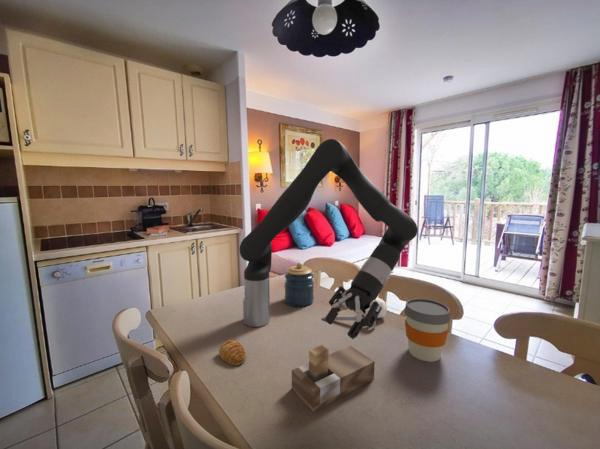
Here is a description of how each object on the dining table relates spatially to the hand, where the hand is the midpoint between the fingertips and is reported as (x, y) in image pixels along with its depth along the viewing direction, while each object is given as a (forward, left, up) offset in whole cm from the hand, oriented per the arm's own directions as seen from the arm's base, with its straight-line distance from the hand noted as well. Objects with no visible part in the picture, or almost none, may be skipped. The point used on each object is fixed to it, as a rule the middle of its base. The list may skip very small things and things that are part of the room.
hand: (338, 329), depth 71 cm
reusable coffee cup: (+28, +14, -15) cm, 35 cm away
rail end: (-5, -4, -13) cm, 15 cm away
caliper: (+7, +33, -15) cm, 36 cm away
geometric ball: (+19, +38, -15) cm, 45 cm away
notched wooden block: (-1, -1, -14) cm, 15 cm away
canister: (-12, +52, -15) cm, 56 cm away
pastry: (-30, +10, -15) cm, 35 cm away
